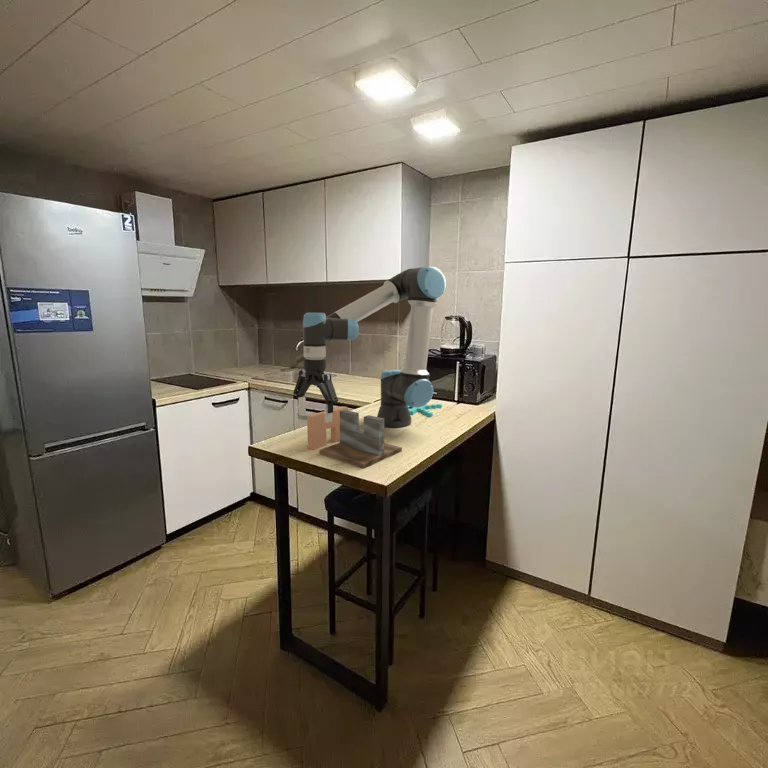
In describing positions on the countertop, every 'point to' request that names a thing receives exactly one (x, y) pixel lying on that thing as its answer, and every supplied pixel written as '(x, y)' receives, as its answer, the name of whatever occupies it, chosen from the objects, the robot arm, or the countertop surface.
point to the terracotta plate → (323, 428)
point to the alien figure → (424, 409)
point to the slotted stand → (360, 441)
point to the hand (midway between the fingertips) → (314, 418)
